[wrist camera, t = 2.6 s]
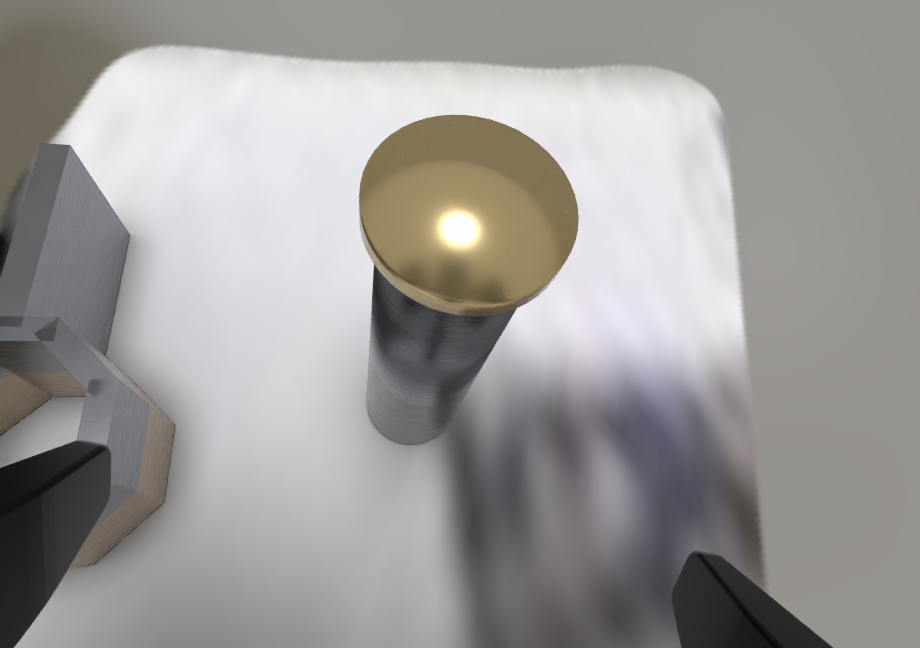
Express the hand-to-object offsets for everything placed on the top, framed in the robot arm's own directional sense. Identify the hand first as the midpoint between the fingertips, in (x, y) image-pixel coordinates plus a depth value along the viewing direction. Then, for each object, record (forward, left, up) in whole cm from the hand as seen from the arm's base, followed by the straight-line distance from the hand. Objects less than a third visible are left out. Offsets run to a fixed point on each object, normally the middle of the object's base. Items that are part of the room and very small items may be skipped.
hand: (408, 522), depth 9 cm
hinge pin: (+5, -1, -11) cm, 12 cm away
